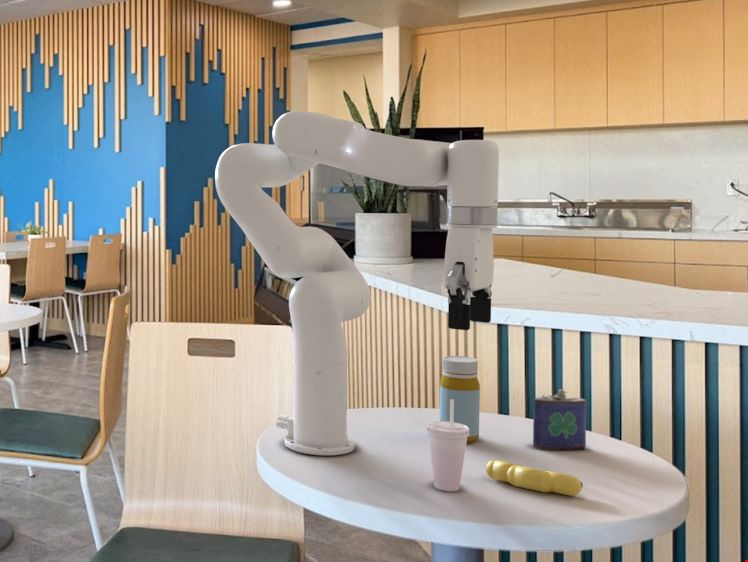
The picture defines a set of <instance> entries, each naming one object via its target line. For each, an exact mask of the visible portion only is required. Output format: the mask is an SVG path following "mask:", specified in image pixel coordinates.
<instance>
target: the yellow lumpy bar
mask: <svg viewBox="0 0 748 562" xmlns="http://www.w3.org/2000/svg"><path fill="white" fill-rule="evenodd" d="M485 472H486V475H487V476H488V477H489V478H491V479H492V480H497V481H501V482H504V483H505V482H506V483H509V484H511V486H514V487H517V488H522V489H527V490H531V491H535V492H536V491H537V492H541V493H549V492H551V493H555V494H561V495H565V496H570V497H572V496H573V497H574V496H577V495H579V494H580V493H581V491H582V488H583V487H584V485H583V482H582V481H581V480H580V479H579V478H578V477H576V476H575V475H570V474H565V473H561V472H556V471H552V470H544V469H543V470H542V469H538V468H537V469H536V468H532V467H527V466H523V465H521V464H516V463H512V462H507V461H503V460H496V459H495V460H494V459H493V460H490V461H488V462H487V463H486V465H485Z"/></svg>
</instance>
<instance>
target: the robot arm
mask: <svg viewBox="0 0 748 562" xmlns="http://www.w3.org/2000/svg"><path fill="white" fill-rule="evenodd" d="M271 134H272V135H271V136H272V140H273V143H274V144H267V143H255V142H254V143H253V142H246V143H238V144H234V145H232V146H230V147H228V148H227V149H225V150H224V151H223V152H222V153H221V155H220V156H219V158H218V160H217V163H216V166H215V172H214V181H215V189H216V192H217V195H218V196H217V197H218V198H219V200H220V203H221V204H222V206H223V207H224V209H225V210H226V211H227V213H228V214H229V215H230V216H231V218H232V219H233V220H234V221H235V222H236V224H237V225H238V226H239V228H240V229H241V231H242V232H243V233H244V235H245V236H246V238H247V239H248V241H249V242H250V244H251V245H252V247H253V248H254V249H255V250H256V252H257V254H258V255H259V256H260V258H261V259H262V260H263V262H264V263H265V265H266V267H268V269H269V270H270V272H272V274H273V275H275V276H277V277H278V278H282V279H297V278H300V279H299V280H297V281H296V282H295V284H293V286H292V288H291V290H290V292H289V298H288V309H289V315H290V320H291V327H292V328H291V329H292V339H293V340H292V342H293V401H292V402H293V405H292V407H293V408H292V409H293V410H292V411H293V412H292V414H293V416H292V417H290V416H289V415H283V414H279V415H278V417H277V420H276V422H275V426H276V428H278V429H282V430H283V429H285V430H286V431H287V434H286V435H285V436H284V445H285V447H287V448H288V449H289V450H292V451H294V452H297V453H301V454H306V455H311V456H312V455H313V456H340V455H345V454H349V453H351V452H353V451H354V450H355V449H356V441H355V439H354V438H352V437H351V436H348V435H347V425H348V424H347V422H348V421H347V420H348V418H347V417H348V416H347V415H348V412H347V410H348V407H347V406H348V346H347V340H346V336H345V333H344V329H343V325H342V323H344V322H349V321H352V320H355V319H358V318H359V317H361V316H363V315H364V314H365V313H366V311H367V310H368V308H369V307H370V304H371V290H370V286H369V285H368V282H367V280H366V278H365V277H364V276H363V274H362V272H361V271H360V270H359V269H358V268H357V266H356V265H355V263H354V262H353V261H352V260H351V259H350V257H349V256H348V254H346V252H345V251H344V249H343V248H342V247H341V245H340V244H339V243H338V242H337V241H336V239H335V238H334V237H333V236H332V235H331V234H329V233H328V232H326V230H323V229H322V228H319V227H316V226H298V225H297V224H295V223H294V222H293V221H292V219H290V218H289V216H288V215H287V214H286V213H285V211H284V210H283V208H282V207H281V205H280V204H279V203H278V202H277V201H276V200H275V199H274V198H273V197H271V196H270V195H269V194H268V193H266V192H265V191H264V190H263V188H281V187H284V186H286V185H288V184H290V183H291V182H294V181H295V180H296V179H298V178H299V177H302V175H305V174H306V173H307V172H308V171H310V170H311V169H313V168H314V167H316V166H317V165H319V164H322V165H326V166H329V167H333V168H337V169H340V170H343V171H347V172H349V173H354V174H356V175H360V176H362V177H366V178H370V179H375V180H377V181H382V182H386V183H390V184H393V185H398V186H404V187H442V186H446V193H447V194H446V227H447V228H448V231H447V235H446V243H445V252H444V263H443V264H444V267H443V287H444V288H445V289H446V290H447V291H446V292H447V294H448V297H447V303H448V306H447V308H448V311H447V313H448V314H447V317H448V318H447V327H448V329H450V330H458V331H469V330H470V329H471V322H475V323H483V324H484V323H486V324H489V323H491V321H492V295H493V292H492V286H493V282H494V267H495V266H494V265H495V264H494V263H495V259H494V234H493V233H494V232H493V229H497V228H498V215H499V214H498V213H499V212H498V211H499V209H498V208H499V207H498V206H499V166H500V165H499V162H500V159H499V158H500V155H499V154H500V150H499V147H498V144H497V143H496V142H495V141H493V140H488V139H464V140H463V139H461V140H456V141H453V142H446V141H445V142H444V141H434V140H427V139H425V140H424V139H415V138H407V137H402V136H396V135H392V134H387V133H382V132H378V131H373V130H370V129H366V128H365V127H364V125H363V124H362V123H360V122H357V121H352V120H347V119H343V118H342V119H341V118H337V117H332V116H329V115H328V114H324V113H321V112H315V111H314V112H313V111H304V110H292V111H288V112H285V113H284V114H282V115H280V116H279V117H278V119H276V121H275V122H274V124H273V126H272V133H271ZM471 295H472V296H471Z"/></svg>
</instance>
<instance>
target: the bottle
mask: <svg viewBox="0 0 748 562" xmlns="http://www.w3.org/2000/svg"><path fill="white" fill-rule="evenodd" d="M478 368H479V361H478V359H477V358H475V357H470V356H465V355H464V356H462V355H447V356H444V357H442V376H441V379H440V381H439V412H438V413H439V415H438V417H439V419H438V421H447V422H450V399H454V422H455V423H460V424H463V425H466V426H467V427H469V433H470V435H469V436H468V437H467V442H466V444H469V443H473V442H476V441H477V440H478V439H479V437H480V402H481V401H480V400H481V397H480V396H481V386H480V385H481V384H480V382H479V378H478V371H479V369H478Z"/></svg>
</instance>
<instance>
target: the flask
mask: <svg viewBox="0 0 748 562" xmlns="http://www.w3.org/2000/svg"><path fill="white" fill-rule="evenodd" d="M557 391H558V392H557V393H555V394H554V395H548V396H545V394H542V396H538V397H535V398H533V410H532V411H533V415H532V416H533V421H532V422H533V423H532V424H533V426H532V430H533V431H532V432H533V434H532V436H533V437H532V445H533V446H532V447H533V448H534V449H536V450H537V449H538V450H550V451H563V450H565V451H574V450H575V451H576V450H577V451H579V450H580V451H581V450H586V447H587V400H586V399H584V398H582V397H567V395H566V394H567V393H568V391H565V390H564V389H561V388H559V389H557Z"/></svg>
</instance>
